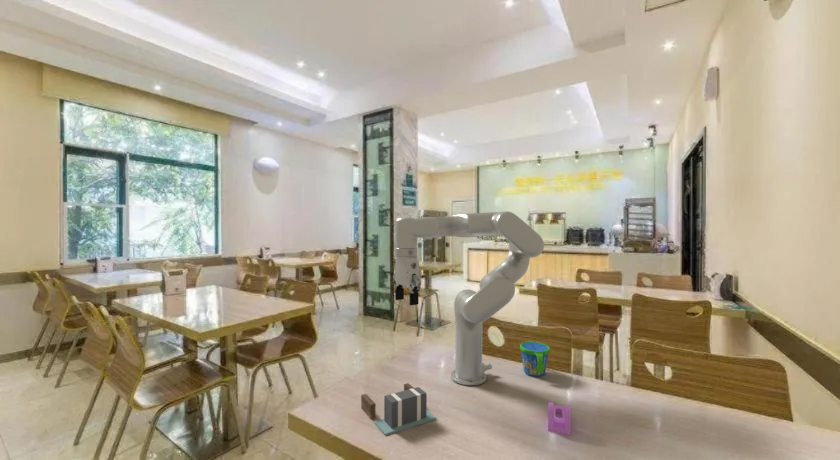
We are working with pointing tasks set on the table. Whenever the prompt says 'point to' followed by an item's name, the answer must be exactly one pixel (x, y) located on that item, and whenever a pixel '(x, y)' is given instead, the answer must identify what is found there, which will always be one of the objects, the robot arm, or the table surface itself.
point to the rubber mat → (387, 430)
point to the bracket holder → (370, 406)
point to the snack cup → (534, 358)
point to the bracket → (559, 419)
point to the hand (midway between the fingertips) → (406, 302)
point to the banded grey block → (405, 407)
